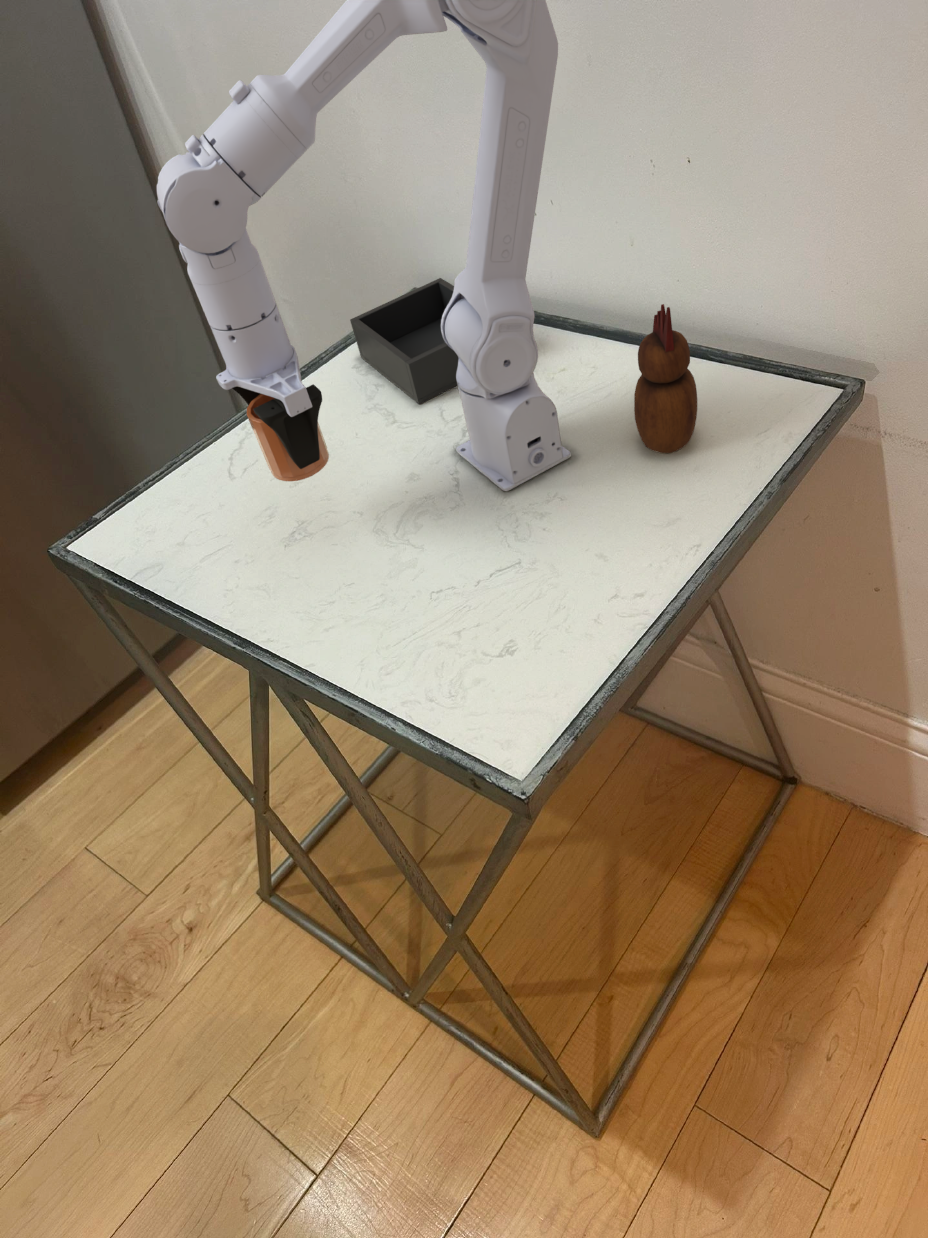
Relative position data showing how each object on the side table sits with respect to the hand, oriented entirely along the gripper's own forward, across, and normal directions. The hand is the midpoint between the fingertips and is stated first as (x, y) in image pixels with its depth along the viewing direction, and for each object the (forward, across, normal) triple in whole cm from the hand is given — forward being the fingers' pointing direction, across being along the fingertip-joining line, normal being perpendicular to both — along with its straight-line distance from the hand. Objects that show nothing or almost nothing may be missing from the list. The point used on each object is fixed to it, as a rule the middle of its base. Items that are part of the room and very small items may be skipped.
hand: (294, 448), depth 86 cm
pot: (+2, 0, 0) cm, 2 cm away
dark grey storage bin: (+9, -18, +24) cm, 31 cm away
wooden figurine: (+9, +14, +31) cm, 36 cm away
